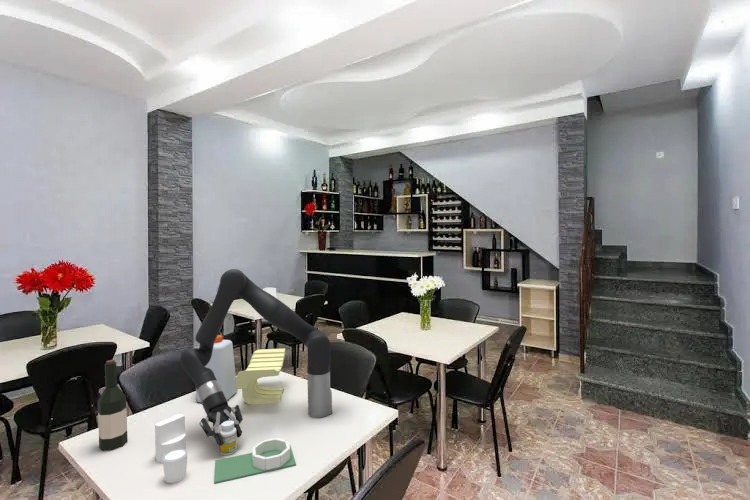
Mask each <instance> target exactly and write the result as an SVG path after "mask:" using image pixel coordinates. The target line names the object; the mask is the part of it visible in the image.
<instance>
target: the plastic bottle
mask: <svg viewBox="0 0 750 500" xmlns="http://www.w3.org/2000/svg"><path fill="white" fill-rule="evenodd" d="M198 348H199V346H198V347H197V349H198ZM235 365H236V364H235V355H234V345H233V341H232V340H230V339H223V335H221V334H218V335H217V338H216V340H215V341H214V347H213V351H212V356H211V359H210V361H209V363H208V364H207V365H206V366H205V367H207V368H209V369H211V370H212V371H213V373H214V375H215V377H216V379H217V382H218V383H219V385H220V387H221V389H222V391H223V393H224V395H225V398H226V400H227V401H228V400H229V399H231V398H233V396H234V395H235V394H236V393H237V391H238V389H236V376H237V375H236V368H235V367H236V366H235ZM195 400H196V401H197V402H198V403H200V404H202V403H201V401H200V398H199V395H198V391H197V389H196V388H195Z"/></svg>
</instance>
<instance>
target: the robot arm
mask: <svg viewBox="0 0 750 500" xmlns="http://www.w3.org/2000/svg"><path fill="white" fill-rule="evenodd" d="M237 297H238V298H240V299H242V300H243V301H244V302H246V303H248V304H249V305H250V306H251V307H252V308H253V310H254V311H256V313H258V315H259V316H261V317H262V318H263V320H265V321H267V323H270V324H271V325H272V326H274V327H275V328H277V329H279V330H280V331H282V332H284V333H285V332H286V333H288V334H290V335H291V336H294V337H295V338H296V339H298V341H300V342H301V343H302V344H303V345H304V346H305V347H306V348H307V367H306V370H307V371H306V372H307V373H306V374H307V375H306V376H307V377H306V378H307V414H308V416H309V417H312V418H314V419H315V418H319V419H320V418H324V417H327V416H329V415H331V414H333V396H332V395H333V392H332V389H331V369H330V368H331V364H332V363H331V362H332V360H331V359H332V356H331V349H332V348H331V342H330V339H329V337H328V335H327V334H326V333H324V332H323V331H322V330H320V329H318V328H316V327H315V326H313V325H311V324H309V323H308V322H307V321H305V320H304V319H303V318H302V317H301V316H300V315H299V314H297V312H295V311H294V310H293V309H292V308H290V306H288V305H287V304H285V303H284V302H283V301H281V300H280V299H279V298H277V297H275V296H273V295H272V294H271V293H269V292H267V291H266V290H264V289H262V288H261V287H259V286H258V285H256V284H255V282H253V281H252V280H251V279H250V277H248V276H247V275H246V274H245V273H244V272H243V271H241V270H240V269H238V268H237V269H236V268H231V269H228V270H226V271H225V272H224V273H223V274H222V275H221V276H220V279H219V284H218V287H217V292H216V295H215V297H214V299H213V302H212V304H211V305H210V308H209V310H208V312H207V314H206V315H205V317H204V319H203V320H202V323H201V324H200V326H199V328H198V331H197V333H196V335H195V338H194V339H195V341H196V342H197V343H198V344H199V346H198V347H199V348H198V347H197V348H193V347H192V348H186V349H185V350H184V351H183V352H181V355H180V358H179V359H180V366H181V367H182V369H183V370H184V372H185V373H186V374H187V376H188V377H189V378H190V379H191V380H192V382H193V384H194V385H195V390H196V389H197V391H198V395H199V398H200V401H201V403H200V404H201V405H202V408H203V411H204V412H205V414H206V417H203V418H202V417H201V420H200V421H199V426H200V427H201V429H202V431H203V432H204V434H205V436H206V437H207V438H209V437H213V438H214V440H215V442H216V445H217V446H219V447H220V446H222V445H223V443H224V442H223V439H222V437H221V435H220V429H219V428H220V426H222V423H223V422H225V421H229V420H231V421H234V427H235V428H236V431H237V439H239V438H240V437H241V436H242V434H243V431H242V428H241V427H240V424H241V423H242V421H243V420H244V419H243V415H242V411H241V408H240V406H239V404H236V405H235V406H232V407H231V406H230V405H229V403H228V400H226V398H225V395H224V393H223V391H222V389H221V387H220V385H219V383H218V382H217V379H216V377H215V375H214V373H213V371H212V370H211V369H209V368H207V367H205V366H206V365H207V364H208V363H209V361H210V359H211V356H212V351H213V347H214V341H215V340H216V338H217V335H219V333H220V331H221V329H222V326H223V324H224V322H225V319H226V317H227V314H228V312H229V310H230V308H231V306H232V304H233V302H234V301H235V300H236V298H237ZM209 422H210V423H211V424H212V427H211V426H210V424H209Z"/></svg>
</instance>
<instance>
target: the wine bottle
mask: <svg viewBox="0 0 750 500" xmlns="http://www.w3.org/2000/svg"><path fill="white" fill-rule="evenodd" d="M117 369H118V366H117V362H116V360H115V359H110V360H106V362H105V363H104V377H105V379H104V382H105V385H104V386H105V388H104V389H103V391H102V393H101V395H100V396H99V397H98V400H97V423H98V425H97V427H98V448H99V450H100V451H101V452H110V451H114V450H117V449H120V448H123V447H124V446H125V445H126V444H127V443H128V442H129V441H128V440H129V439H128V415H127V414H128V413H127V395H126V394H125V393H124V392H123V391H122V389H120V387H119V386H118V372H117V371H118V370H117Z"/></svg>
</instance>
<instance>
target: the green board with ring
mask: <svg viewBox="0 0 750 500" xmlns="http://www.w3.org/2000/svg"><path fill="white" fill-rule="evenodd" d="M214 462H215V463H214V476H213V478H214V480H213V484H214V485H215V484H219V483H220V484H221V483H224V482H228V481H232V480H237V479H243V478H247V477H251V476H256V475H259V474H260V475H261V474H264V473H269V472H273V471H278V470H281V469H286V468H291V467H294V466H295V467H296V466H297V463H296V459H295V455H294V453H293V450H292V446H291V444H290V442H289V441H288V440H287V439H283V438H279V437H275V438H268V439H265V440H261V441H260V442H258V443H257V444H255V445H254V446H252V448H251V452H250V453H245V454H238V455H235V456H229V457H226V458H220V459H216V460H214Z"/></svg>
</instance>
